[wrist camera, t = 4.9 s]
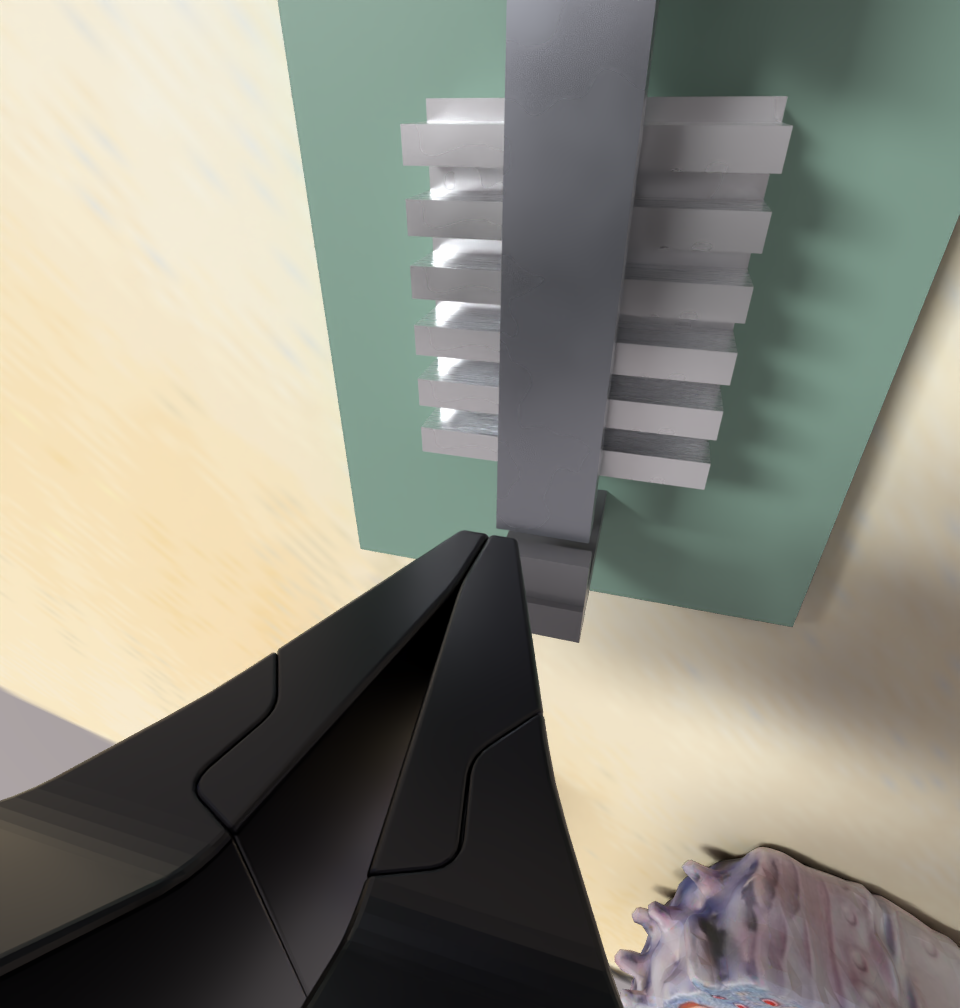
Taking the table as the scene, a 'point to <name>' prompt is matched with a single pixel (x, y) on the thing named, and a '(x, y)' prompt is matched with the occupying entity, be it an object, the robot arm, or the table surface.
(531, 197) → the strap
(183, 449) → the table surface
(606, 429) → the heatsink
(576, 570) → the lug
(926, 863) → the table surface
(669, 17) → the board
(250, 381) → the table surface
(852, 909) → the cell model
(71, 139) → the table surface
